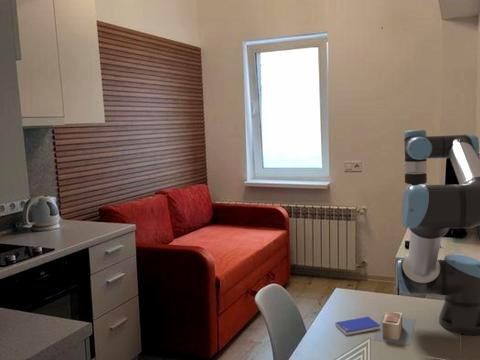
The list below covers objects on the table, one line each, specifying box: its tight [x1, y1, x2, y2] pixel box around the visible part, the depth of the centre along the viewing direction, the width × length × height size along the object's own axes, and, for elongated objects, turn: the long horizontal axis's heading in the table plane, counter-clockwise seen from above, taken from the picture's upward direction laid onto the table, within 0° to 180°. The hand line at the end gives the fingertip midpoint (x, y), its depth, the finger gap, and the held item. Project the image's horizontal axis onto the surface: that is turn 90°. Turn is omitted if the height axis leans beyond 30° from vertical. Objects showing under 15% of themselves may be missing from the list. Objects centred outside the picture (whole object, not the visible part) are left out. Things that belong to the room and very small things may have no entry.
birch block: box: [382, 310, 403, 340], centre depth 154 cm, size 5×5×10 cm
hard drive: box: [335, 316, 380, 336], centre depth 160 cm, size 2×8×12 cm
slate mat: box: [373, 315, 416, 346], centre depth 157 cm, size 11×20×1 cm, turn 155°
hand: (415, 235), depth 174 cm, fingers closed
